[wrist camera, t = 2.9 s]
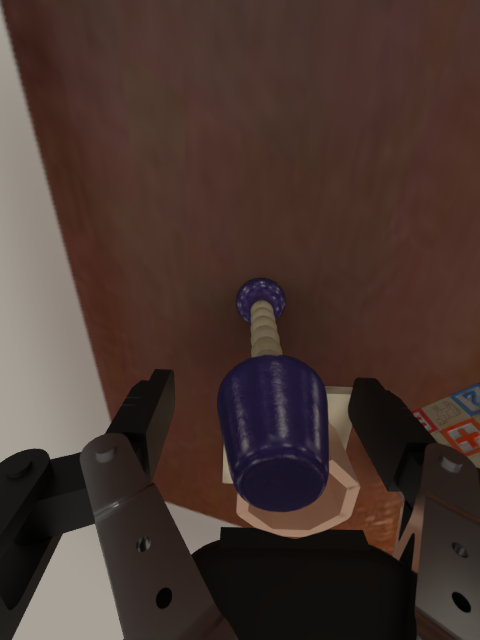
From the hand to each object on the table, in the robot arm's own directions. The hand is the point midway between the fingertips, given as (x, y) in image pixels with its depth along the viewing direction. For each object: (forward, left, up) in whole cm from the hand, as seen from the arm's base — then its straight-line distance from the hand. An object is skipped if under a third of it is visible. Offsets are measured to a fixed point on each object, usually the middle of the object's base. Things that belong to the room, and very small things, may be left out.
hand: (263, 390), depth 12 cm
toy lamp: (0, 0, -13) cm, 13 cm away
